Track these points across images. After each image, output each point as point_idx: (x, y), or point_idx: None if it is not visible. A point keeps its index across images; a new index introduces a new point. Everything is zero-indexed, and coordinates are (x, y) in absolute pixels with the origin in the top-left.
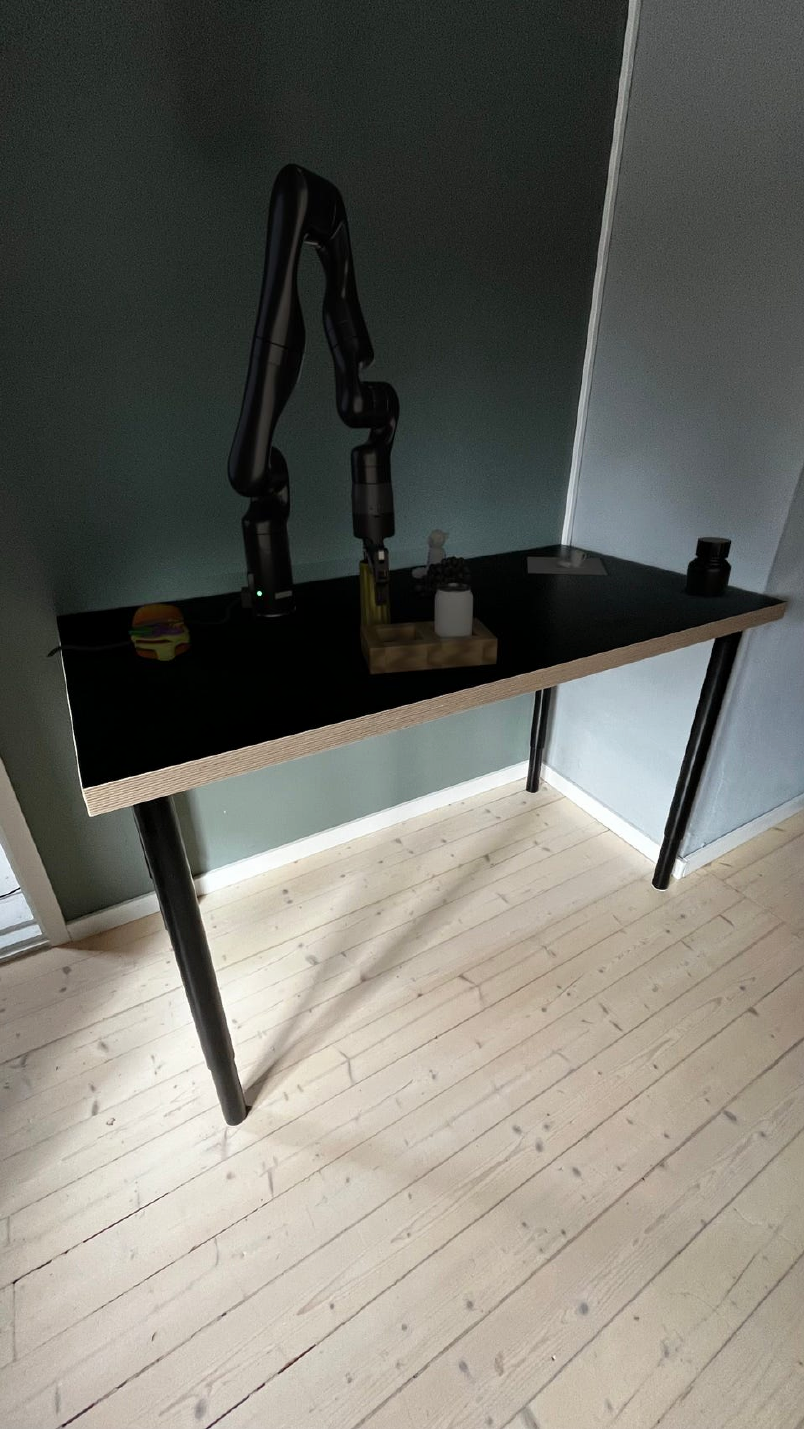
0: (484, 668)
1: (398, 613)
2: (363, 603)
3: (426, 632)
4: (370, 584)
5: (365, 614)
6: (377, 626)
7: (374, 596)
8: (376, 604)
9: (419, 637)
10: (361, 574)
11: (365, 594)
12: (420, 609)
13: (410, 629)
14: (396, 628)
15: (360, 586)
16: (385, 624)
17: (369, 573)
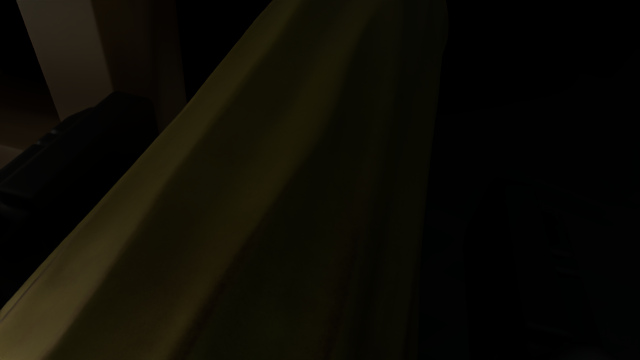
0: None
1: (632, 246)
2: (264, 34)
3: (2, 165)
4: (108, 191)
5: (268, 7)
6: (62, 2)
7: (107, 128)
8: (116, 97)
9: (13, 131)
10: (130, 233)
11: (200, 89)
12: (605, 316)
13: None
14: (51, 87)
15: (304, 118)
16: (103, 61)
17: (11, 299)
